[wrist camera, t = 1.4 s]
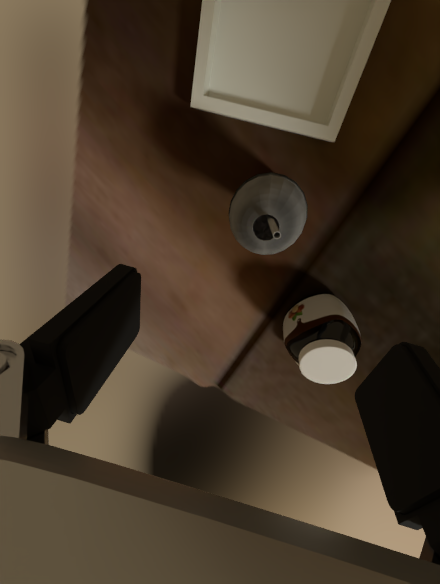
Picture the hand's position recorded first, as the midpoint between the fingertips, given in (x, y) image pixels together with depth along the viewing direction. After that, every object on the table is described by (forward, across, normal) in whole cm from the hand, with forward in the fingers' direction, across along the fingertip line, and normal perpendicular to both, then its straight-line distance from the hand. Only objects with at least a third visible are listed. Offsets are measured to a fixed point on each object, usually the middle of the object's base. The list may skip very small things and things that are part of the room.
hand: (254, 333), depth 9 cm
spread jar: (+28, -14, +18) cm, 36 cm away
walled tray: (+28, +3, -15) cm, 32 cm away
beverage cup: (+28, 0, 0) cm, 28 cm away
